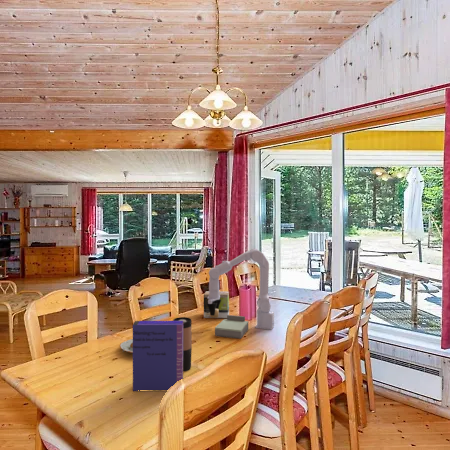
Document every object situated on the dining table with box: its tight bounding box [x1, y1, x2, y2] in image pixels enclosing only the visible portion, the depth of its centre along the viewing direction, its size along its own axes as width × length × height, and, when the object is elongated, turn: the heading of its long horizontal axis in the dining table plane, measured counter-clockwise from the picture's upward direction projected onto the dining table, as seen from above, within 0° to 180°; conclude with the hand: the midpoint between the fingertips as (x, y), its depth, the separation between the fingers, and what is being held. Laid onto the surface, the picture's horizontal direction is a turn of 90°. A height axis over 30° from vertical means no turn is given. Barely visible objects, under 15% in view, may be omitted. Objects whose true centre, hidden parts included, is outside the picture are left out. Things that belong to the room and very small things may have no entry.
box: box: [214, 323, 249, 340], centre depth 191 cm, size 14×16×4 cm
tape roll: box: [210, 308, 219, 319], centre depth 199 cm, size 5×5×4 cm
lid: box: [214, 314, 249, 332], centre depth 191 cm, size 14×16×3 cm
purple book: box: [132, 320, 184, 392], centre depth 129 cm, size 17×5×24 cm, turn 92°
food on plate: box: [119, 338, 133, 354], centre depth 167 cm, size 25×25×7 cm
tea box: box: [203, 290, 230, 319], centre depth 222 cm, size 15×10×15 cm
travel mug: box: [172, 316, 193, 373], centre depth 146 cm, size 8×8×20 cm
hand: (214, 313), depth 199 cm, fingers closed on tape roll, 5 cm apart
